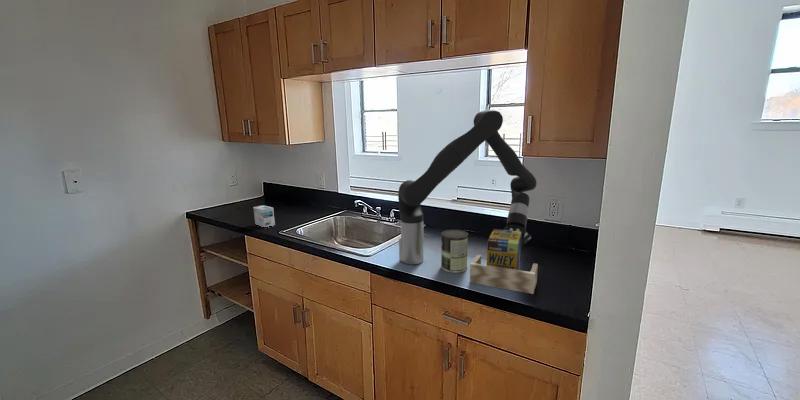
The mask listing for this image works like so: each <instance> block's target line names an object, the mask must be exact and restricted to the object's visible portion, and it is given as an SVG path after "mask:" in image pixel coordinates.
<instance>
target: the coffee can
mask: <svg viewBox="0 0 800 400" xmlns="http://www.w3.org/2000/svg"><path fill="white" fill-rule="evenodd" d="M440 236H441V239H440V240H441V242H440V243H441V250H440V251H441V252H440V253H441V255H440V256H441V261H440V262H441V264H440V268H441V270H442V271H445V272H447V273H451V274H452V273H453V274H455V273H456V274H457V273H462V272H465V271H467V270H468V247H469V246H468V242H469V241H468V238H469V233H468V232H467V231H465V230H463V229H445V230H443V231H442V232H441V233H440Z"/></svg>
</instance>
